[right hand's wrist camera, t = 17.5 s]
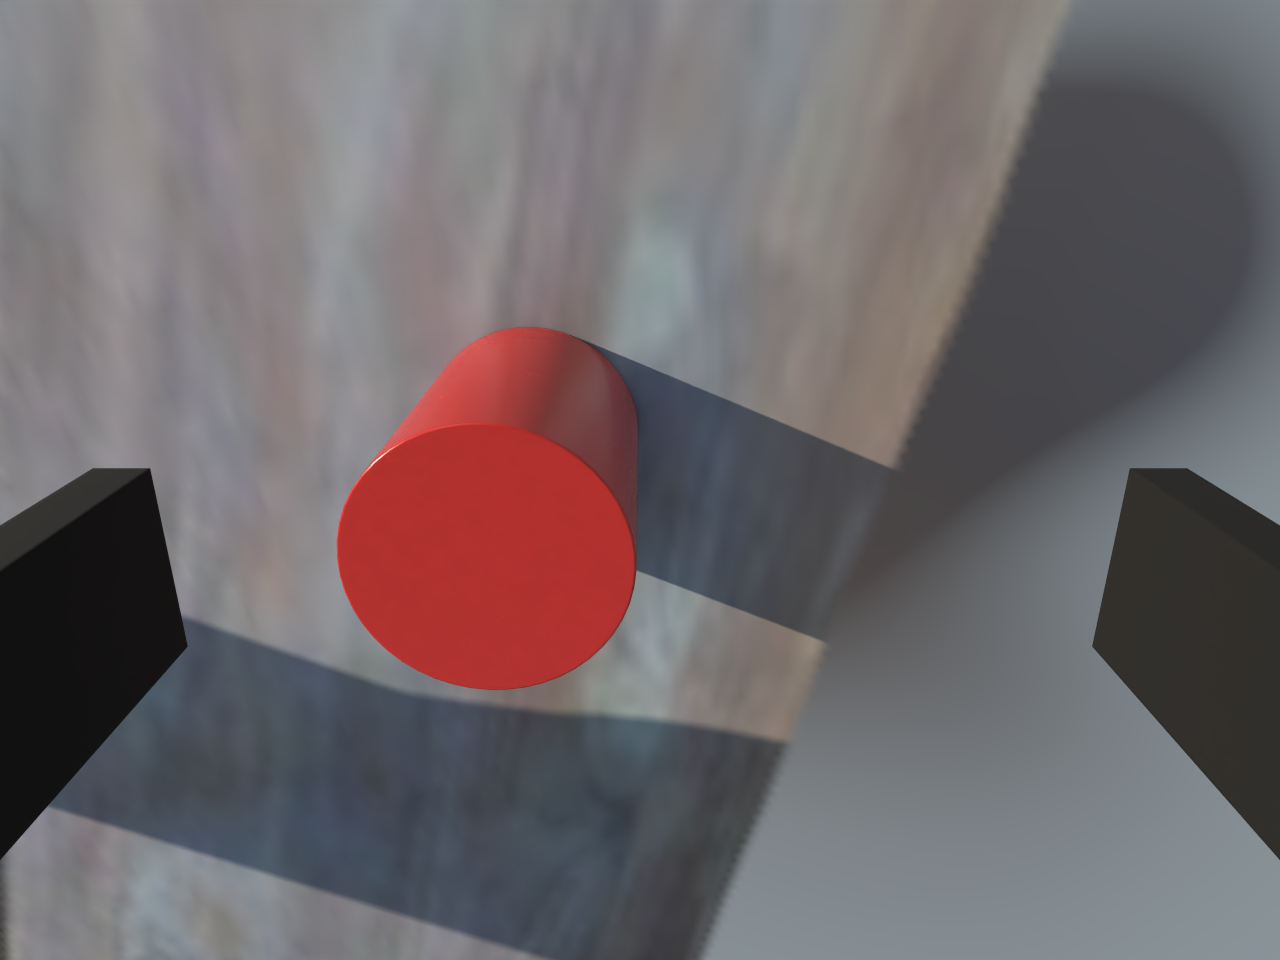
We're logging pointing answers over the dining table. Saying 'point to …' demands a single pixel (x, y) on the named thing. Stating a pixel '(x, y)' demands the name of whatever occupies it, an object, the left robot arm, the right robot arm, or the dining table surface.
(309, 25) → the dining table surface
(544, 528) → the red cylinder
